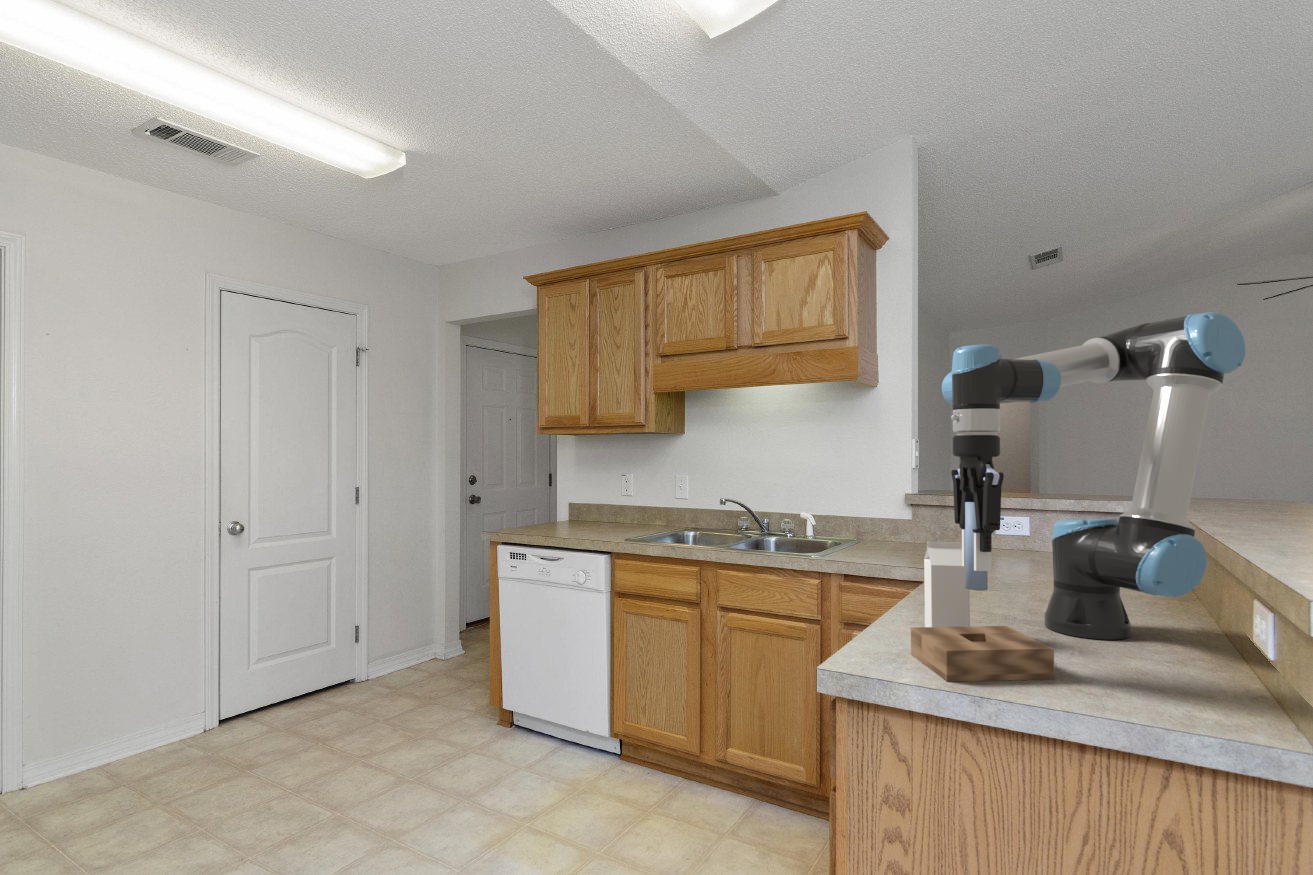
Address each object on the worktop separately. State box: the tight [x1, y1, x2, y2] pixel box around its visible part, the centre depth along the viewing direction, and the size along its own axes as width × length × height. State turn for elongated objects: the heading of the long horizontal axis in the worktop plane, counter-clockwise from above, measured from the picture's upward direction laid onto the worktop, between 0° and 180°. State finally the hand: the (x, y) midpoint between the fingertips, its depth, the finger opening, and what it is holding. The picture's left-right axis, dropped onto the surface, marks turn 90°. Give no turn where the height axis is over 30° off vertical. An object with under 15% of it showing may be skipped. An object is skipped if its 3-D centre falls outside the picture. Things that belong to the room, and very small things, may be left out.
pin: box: [965, 502, 989, 592], centre depth 117 cm, size 4×4×15 cm
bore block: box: [910, 625, 1055, 682], centre depth 117 cm, size 18×14×5 cm
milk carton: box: [923, 541, 971, 627], centre depth 135 cm, size 7×7×19 cm
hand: (976, 567), depth 117 cm, fingers closed on pin, 3 cm apart
